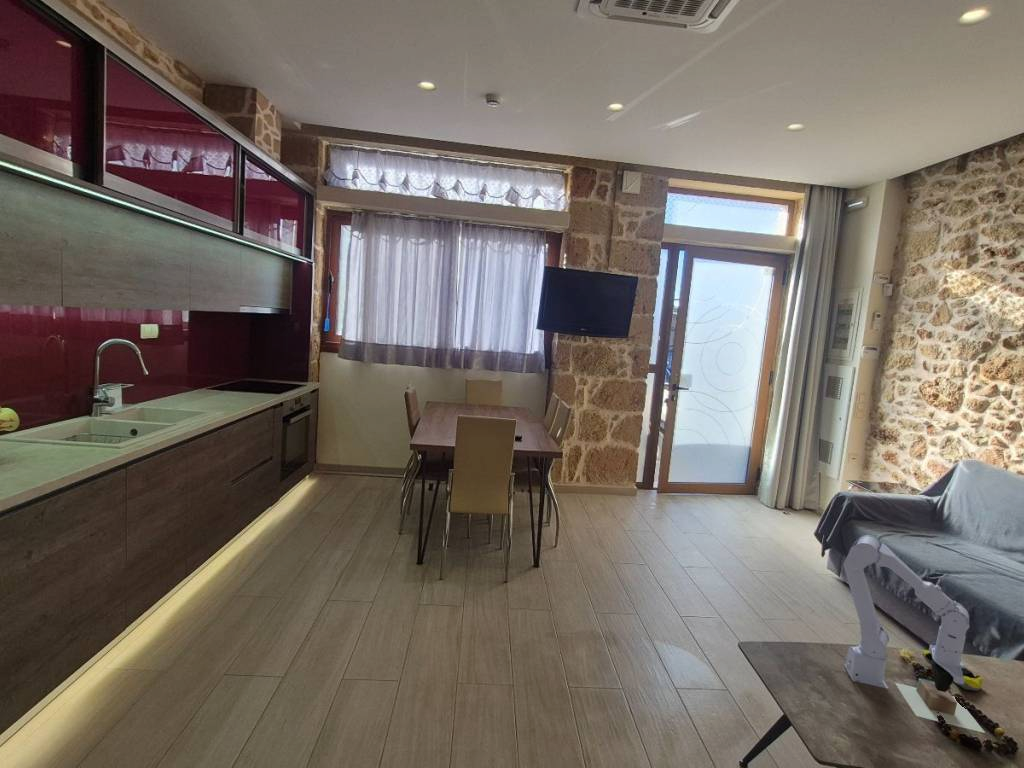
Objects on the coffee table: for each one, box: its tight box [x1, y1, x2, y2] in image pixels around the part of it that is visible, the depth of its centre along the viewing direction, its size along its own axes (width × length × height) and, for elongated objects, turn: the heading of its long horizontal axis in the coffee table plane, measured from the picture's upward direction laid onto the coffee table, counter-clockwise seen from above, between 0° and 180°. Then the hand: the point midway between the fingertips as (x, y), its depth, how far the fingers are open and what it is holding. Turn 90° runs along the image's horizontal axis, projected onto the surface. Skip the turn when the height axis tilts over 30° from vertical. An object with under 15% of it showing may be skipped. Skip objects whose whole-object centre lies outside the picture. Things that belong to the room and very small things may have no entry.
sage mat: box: [894, 682, 986, 734], centre depth 146 cm, size 16×14×1 cm
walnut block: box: [915, 678, 957, 715], centre depth 147 cm, size 6×4×8 cm
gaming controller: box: [922, 649, 984, 692], centre depth 159 cm, size 15×6×10 cm
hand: (940, 689), depth 145 cm, fingers closed
